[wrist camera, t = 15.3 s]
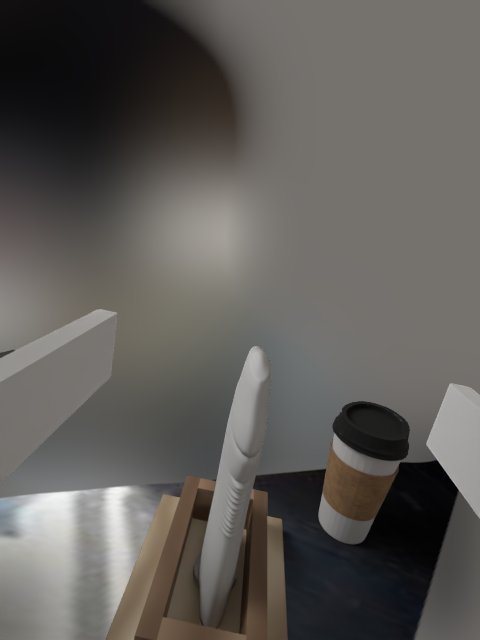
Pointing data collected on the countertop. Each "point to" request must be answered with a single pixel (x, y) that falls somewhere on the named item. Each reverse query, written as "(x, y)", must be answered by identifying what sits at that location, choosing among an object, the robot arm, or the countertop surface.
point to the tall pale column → (233, 489)
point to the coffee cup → (361, 468)
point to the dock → (179, 586)
